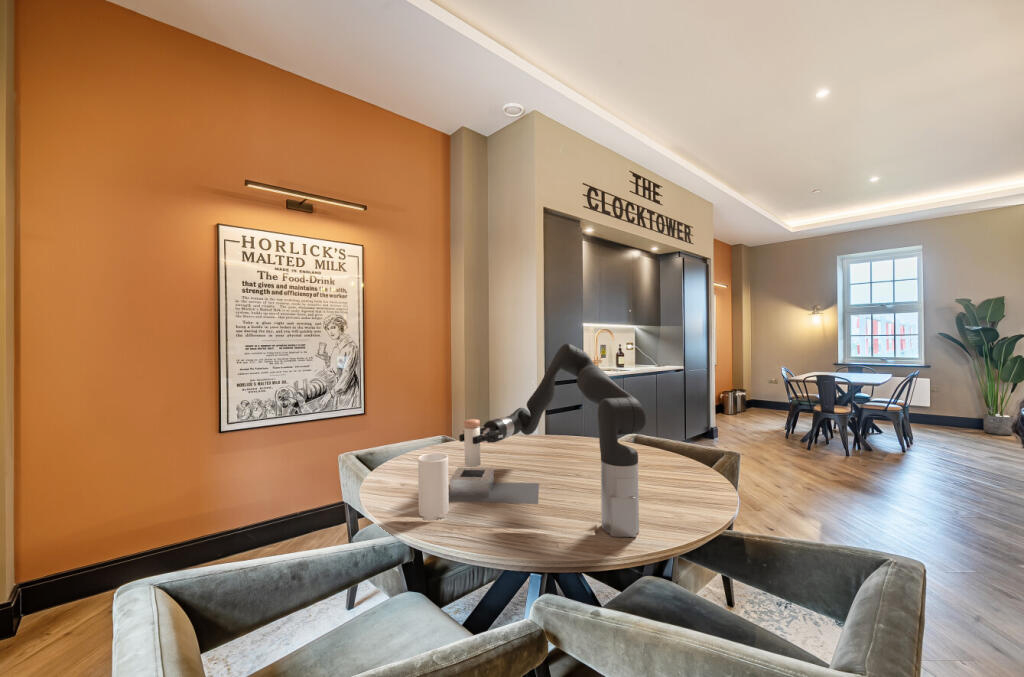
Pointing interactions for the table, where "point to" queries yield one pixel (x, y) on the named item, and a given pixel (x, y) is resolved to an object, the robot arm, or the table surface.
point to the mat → (505, 494)
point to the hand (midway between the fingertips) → (467, 439)
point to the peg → (471, 442)
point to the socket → (472, 482)
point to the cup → (433, 485)
